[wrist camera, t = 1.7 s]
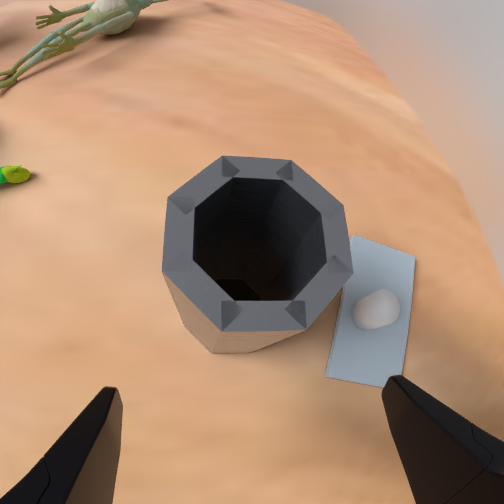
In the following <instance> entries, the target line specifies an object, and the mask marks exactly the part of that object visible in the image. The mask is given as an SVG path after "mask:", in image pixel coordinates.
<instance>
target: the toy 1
mask: <svg viewBox="0 0 504 504" xmlns="http://www.w3.org/2000/svg"><path fill="white" fill-rule="evenodd" d="M21 166H22V165H20V166H6V167H0V184H1V183H6V182H7V181H8V182H11V183H21V182H25V181H26V180H28V179H29V177H30V172H29V171H28V170H27V169H25V168H22V167H21Z"/></svg>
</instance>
